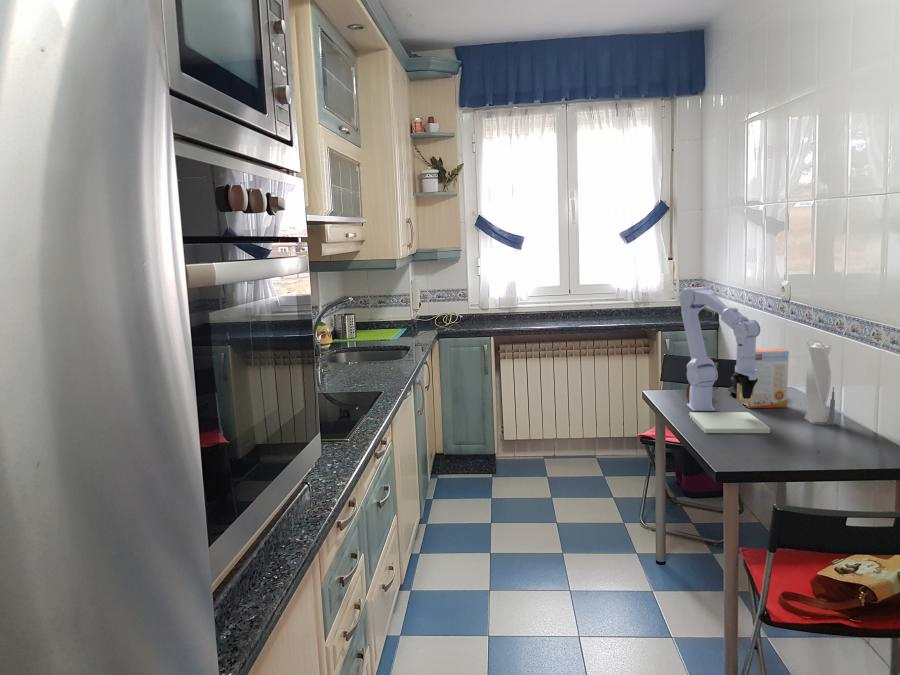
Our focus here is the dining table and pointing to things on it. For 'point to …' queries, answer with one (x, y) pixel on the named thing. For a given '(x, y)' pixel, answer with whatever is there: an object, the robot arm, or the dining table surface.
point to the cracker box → (770, 379)
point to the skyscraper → (818, 385)
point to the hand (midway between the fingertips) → (744, 396)
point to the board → (728, 422)
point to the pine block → (740, 396)
